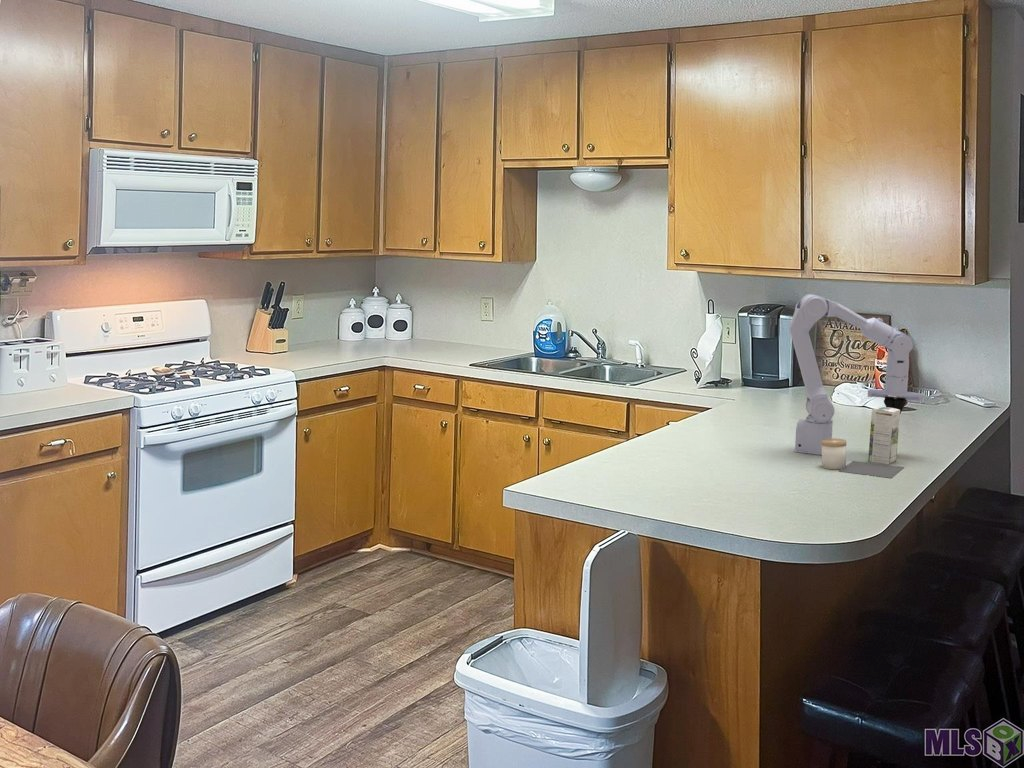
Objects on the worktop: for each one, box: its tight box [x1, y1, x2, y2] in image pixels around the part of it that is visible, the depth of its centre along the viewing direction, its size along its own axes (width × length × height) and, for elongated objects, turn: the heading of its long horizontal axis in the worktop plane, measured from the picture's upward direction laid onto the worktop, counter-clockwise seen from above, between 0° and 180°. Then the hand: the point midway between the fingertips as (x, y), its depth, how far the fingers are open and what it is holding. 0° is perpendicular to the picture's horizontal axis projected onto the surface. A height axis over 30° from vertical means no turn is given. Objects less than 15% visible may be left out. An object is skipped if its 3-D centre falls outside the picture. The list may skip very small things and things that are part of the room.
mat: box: [838, 460, 905, 479], centre depth 256 cm, size 13×14×1 cm
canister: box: [821, 437, 847, 470], centre depth 258 cm, size 6×6×7 cm
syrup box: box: [867, 406, 901, 465], centre depth 264 cm, size 6×6×14 cm
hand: (893, 424), depth 273 cm, fingers closed
